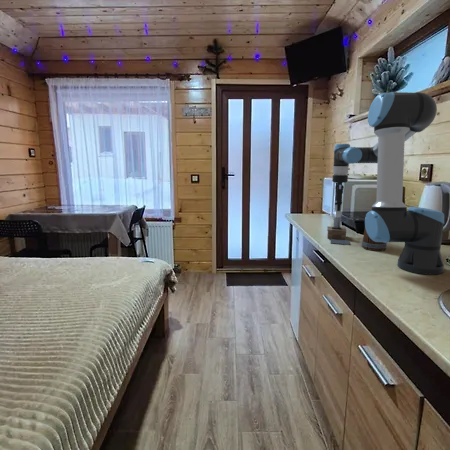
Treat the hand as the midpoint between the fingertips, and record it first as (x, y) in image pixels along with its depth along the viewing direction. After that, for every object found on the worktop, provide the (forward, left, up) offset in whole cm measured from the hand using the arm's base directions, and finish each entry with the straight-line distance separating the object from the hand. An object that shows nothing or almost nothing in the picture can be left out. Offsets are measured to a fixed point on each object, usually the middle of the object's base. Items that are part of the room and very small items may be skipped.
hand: (337, 215), depth 171 cm
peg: (0, 0, -12) cm, 12 cm away
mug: (-15, -16, -13) cm, 25 cm away
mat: (-10, -2, -12) cm, 16 cm away
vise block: (0, 0, -12) cm, 12 cm away
